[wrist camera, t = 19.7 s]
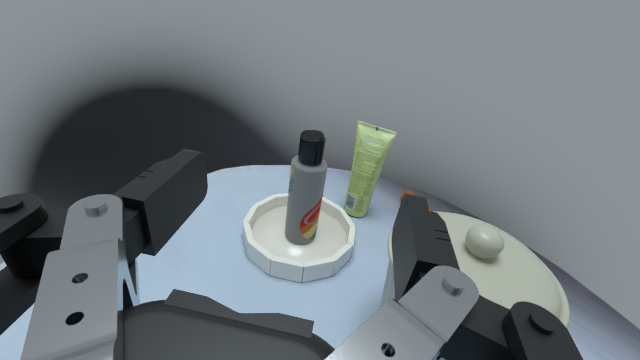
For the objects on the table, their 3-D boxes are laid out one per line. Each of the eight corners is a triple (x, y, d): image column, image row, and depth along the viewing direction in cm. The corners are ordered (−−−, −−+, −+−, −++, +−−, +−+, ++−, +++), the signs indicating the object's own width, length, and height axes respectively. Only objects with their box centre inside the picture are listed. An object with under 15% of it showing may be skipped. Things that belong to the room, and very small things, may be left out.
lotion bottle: (321, 239, 56) (340, 138, 45) (295, 250, 52) (309, 144, 42) (304, 221, 59) (317, 123, 49) (278, 230, 56) (287, 128, 46)
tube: (363, 203, 69) (384, 121, 59) (373, 217, 65) (397, 131, 55) (340, 204, 67) (357, 120, 57) (348, 219, 63) (368, 131, 53)
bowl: (354, 217, 64) (357, 203, 62) (346, 292, 48) (350, 277, 46) (264, 199, 65) (264, 185, 64) (226, 266, 49) (225, 250, 47)
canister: (342, 299, 47) (373, 181, 36) (445, 287, 51) (501, 180, 40) (391, 447, 32) (469, 325, 21) (529, 413, 36) (653, 298, 25)
